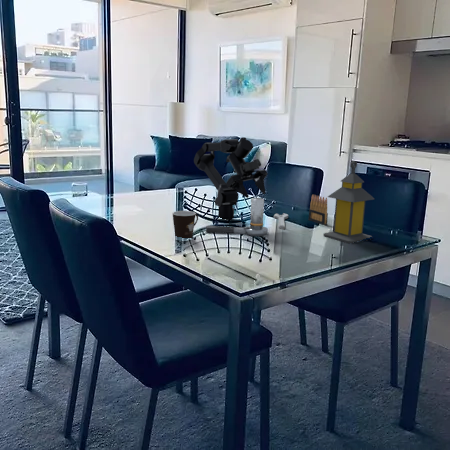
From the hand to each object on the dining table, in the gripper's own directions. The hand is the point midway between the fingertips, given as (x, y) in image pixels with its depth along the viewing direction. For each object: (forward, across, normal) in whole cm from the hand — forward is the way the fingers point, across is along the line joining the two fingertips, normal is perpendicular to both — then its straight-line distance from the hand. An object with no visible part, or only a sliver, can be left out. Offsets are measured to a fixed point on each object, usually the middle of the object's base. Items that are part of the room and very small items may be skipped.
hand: (256, 195), depth 203 cm
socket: (+13, -7, +2) cm, 15 cm away
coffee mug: (+8, -34, +8) cm, 36 cm away
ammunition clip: (+18, +29, +5) cm, 34 cm away
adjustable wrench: (+10, +15, +12) cm, 22 cm away
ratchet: (+11, -13, +7) cm, 18 cm away
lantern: (+33, +19, -13) cm, 40 cm away
